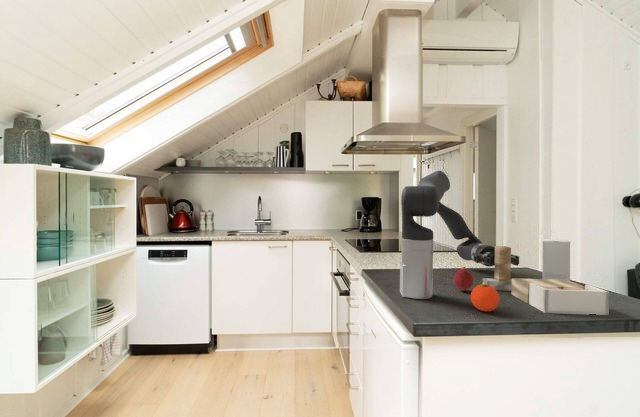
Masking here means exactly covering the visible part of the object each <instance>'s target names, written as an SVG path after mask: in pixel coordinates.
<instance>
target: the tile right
mask: <svg viewBox="0 0 640 417" xmlns="http://www.w3.org/2000/svg"><path fill="white" fill-rule="evenodd" d="M563 290H585V289H583V288H572V287H564V288H563ZM587 291H588V290H587Z"/></svg>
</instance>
